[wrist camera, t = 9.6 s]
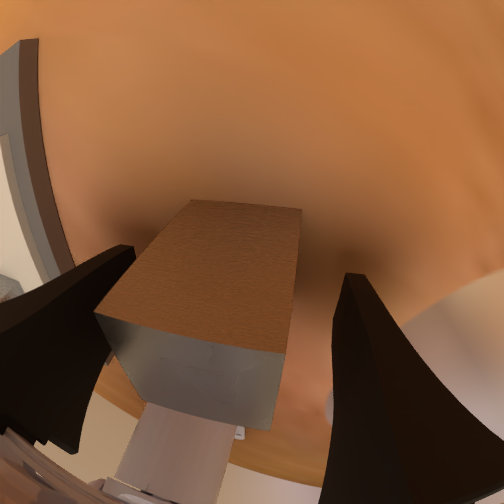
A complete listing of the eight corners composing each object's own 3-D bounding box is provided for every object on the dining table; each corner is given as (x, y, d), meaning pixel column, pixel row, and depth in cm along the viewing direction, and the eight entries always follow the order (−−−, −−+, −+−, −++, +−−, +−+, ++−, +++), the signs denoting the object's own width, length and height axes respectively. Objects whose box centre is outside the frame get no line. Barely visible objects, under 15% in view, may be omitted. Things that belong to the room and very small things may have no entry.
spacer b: (291, 296, 12) (269, 431, 7) (200, 283, 12) (142, 399, 7) (301, 209, 9) (285, 353, 5) (191, 199, 10) (93, 311, 5)
